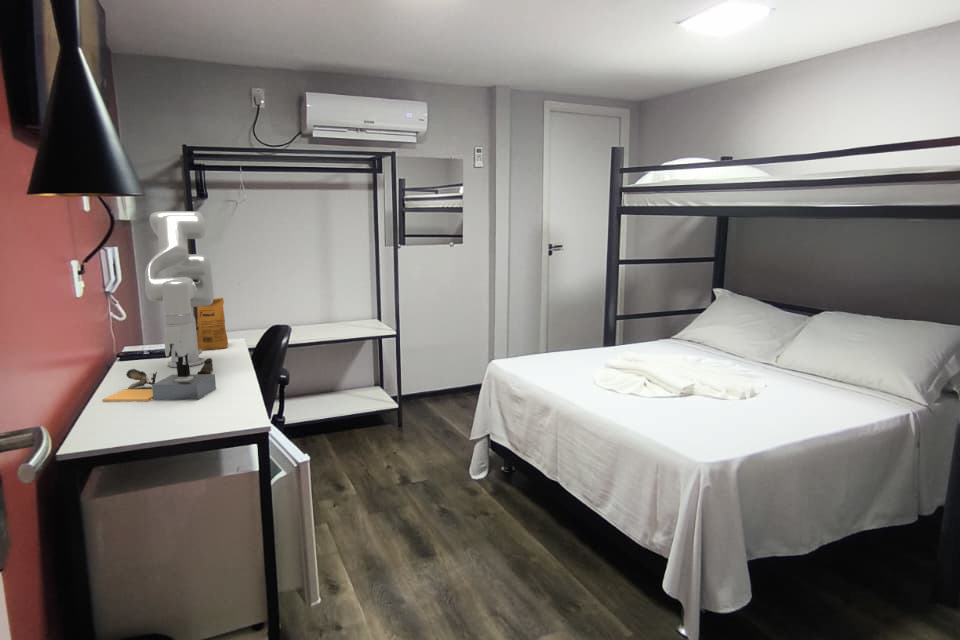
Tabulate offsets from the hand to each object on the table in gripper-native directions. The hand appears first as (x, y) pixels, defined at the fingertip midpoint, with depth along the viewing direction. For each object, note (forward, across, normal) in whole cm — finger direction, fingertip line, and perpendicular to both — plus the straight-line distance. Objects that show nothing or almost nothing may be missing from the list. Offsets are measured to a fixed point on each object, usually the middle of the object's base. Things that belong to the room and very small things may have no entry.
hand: (184, 376), depth 187 cm
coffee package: (+7, -70, -24) cm, 74 cm away
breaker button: (+5, 0, 0) cm, 5 cm away
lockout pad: (+6, +2, -15) cm, 16 cm away
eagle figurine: (+6, -7, -19) cm, 21 cm away
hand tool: (+7, -24, -5) cm, 26 cm away
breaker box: (+6, 0, 0) cm, 6 cm away
